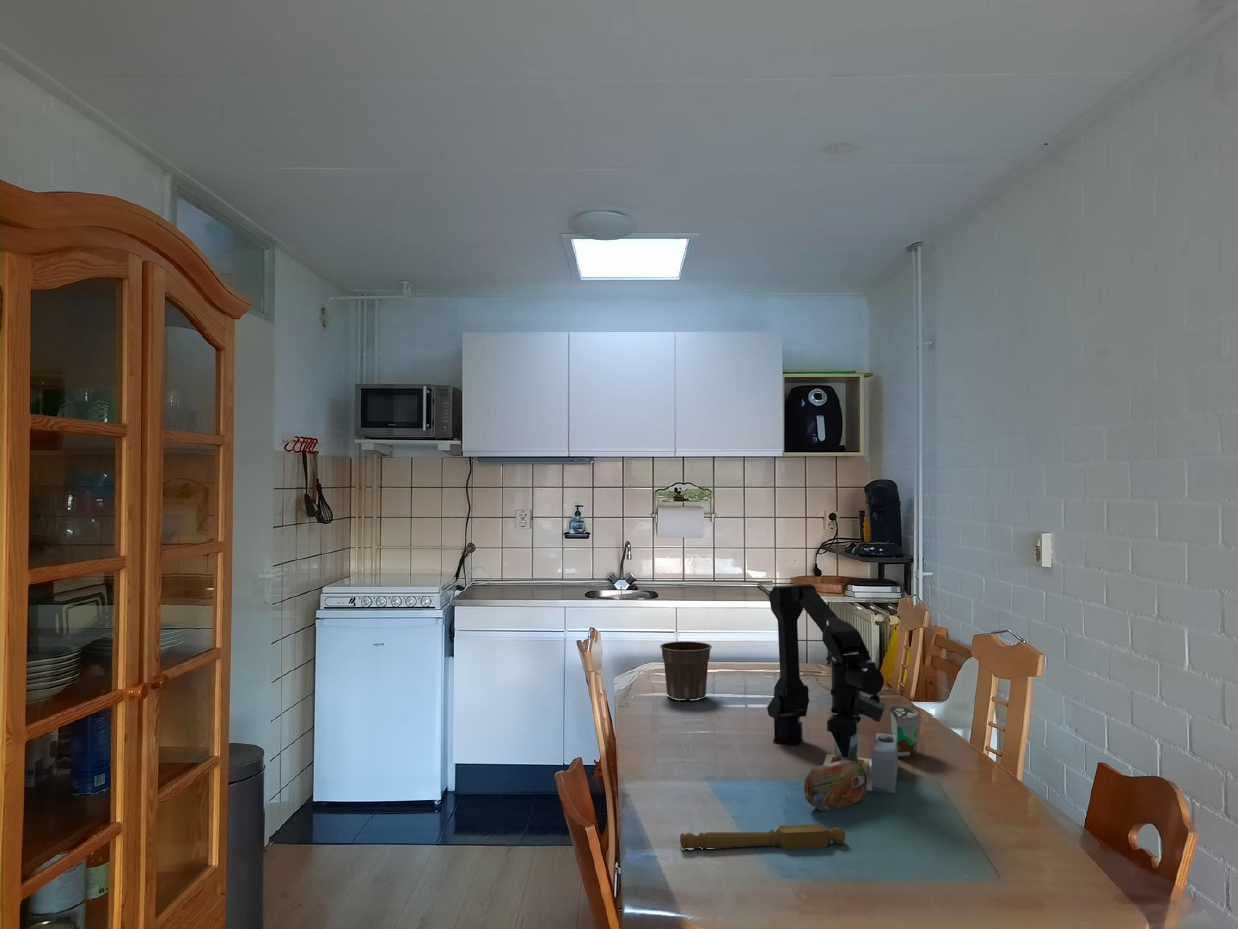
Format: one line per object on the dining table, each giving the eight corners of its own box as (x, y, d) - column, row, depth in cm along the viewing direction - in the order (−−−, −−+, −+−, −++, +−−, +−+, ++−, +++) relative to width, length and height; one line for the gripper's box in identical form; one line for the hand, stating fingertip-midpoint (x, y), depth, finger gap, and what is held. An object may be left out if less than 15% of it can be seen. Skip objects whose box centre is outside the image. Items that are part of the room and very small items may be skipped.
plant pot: (678, 688, 254) (677, 638, 254) (721, 695, 244) (720, 643, 245) (651, 699, 240) (650, 647, 241) (695, 706, 231) (694, 652, 232)
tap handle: (679, 830, 140) (841, 823, 142) (680, 847, 140) (841, 840, 141) (682, 837, 137) (847, 830, 139) (682, 855, 137) (847, 847, 138)
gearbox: (817, 784, 168) (816, 749, 168) (826, 758, 185) (826, 725, 185) (894, 794, 162) (893, 757, 162) (897, 765, 179) (896, 732, 179)
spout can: (833, 767, 173) (832, 721, 173) (836, 760, 178) (835, 715, 178) (857, 770, 171) (856, 723, 171) (859, 762, 176) (858, 717, 176)
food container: (926, 762, 181) (924, 719, 181) (898, 761, 182) (897, 718, 182) (916, 745, 193) (915, 705, 193) (890, 744, 194) (889, 704, 194)
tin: (812, 815, 152) (811, 772, 152) (801, 810, 155) (800, 767, 155) (868, 800, 159) (867, 759, 159) (857, 795, 162) (856, 755, 162)
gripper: (879, 697, 163) (881, 772, 163) (884, 677, 181) (885, 744, 180) (825, 693, 168) (827, 765, 167) (835, 674, 185) (836, 739, 184)
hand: (846, 753), depth 174 cm, fingers closed on spout can, 5 cm apart
